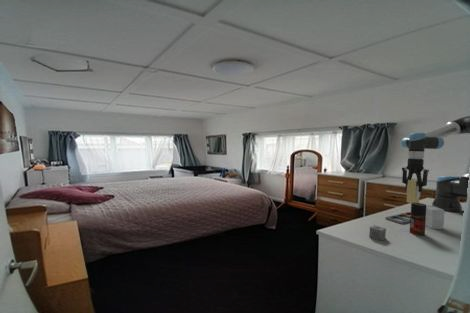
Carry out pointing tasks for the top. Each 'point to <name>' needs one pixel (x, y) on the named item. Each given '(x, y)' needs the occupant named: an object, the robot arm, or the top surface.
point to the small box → (434, 217)
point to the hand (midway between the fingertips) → (413, 195)
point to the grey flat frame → (406, 214)
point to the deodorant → (418, 219)
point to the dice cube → (377, 232)
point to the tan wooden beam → (412, 191)
